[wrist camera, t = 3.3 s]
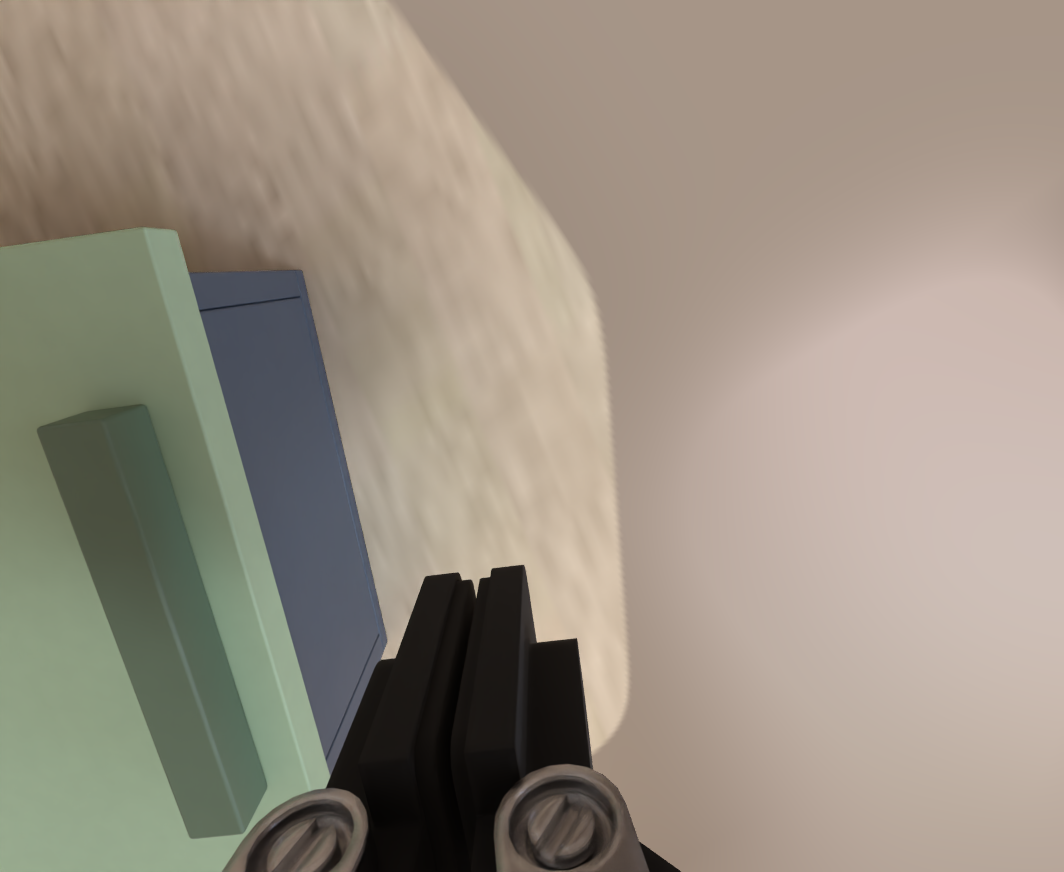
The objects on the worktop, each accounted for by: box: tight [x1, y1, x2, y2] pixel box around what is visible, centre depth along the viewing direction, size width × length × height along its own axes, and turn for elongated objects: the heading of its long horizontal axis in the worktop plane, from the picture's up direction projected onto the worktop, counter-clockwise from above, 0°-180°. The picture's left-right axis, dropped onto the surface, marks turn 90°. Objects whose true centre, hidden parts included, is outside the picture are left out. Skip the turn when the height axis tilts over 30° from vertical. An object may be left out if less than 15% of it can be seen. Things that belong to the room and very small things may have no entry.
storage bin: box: [188, 270, 387, 776], centre depth 17 cm, size 14×14×8 cm
